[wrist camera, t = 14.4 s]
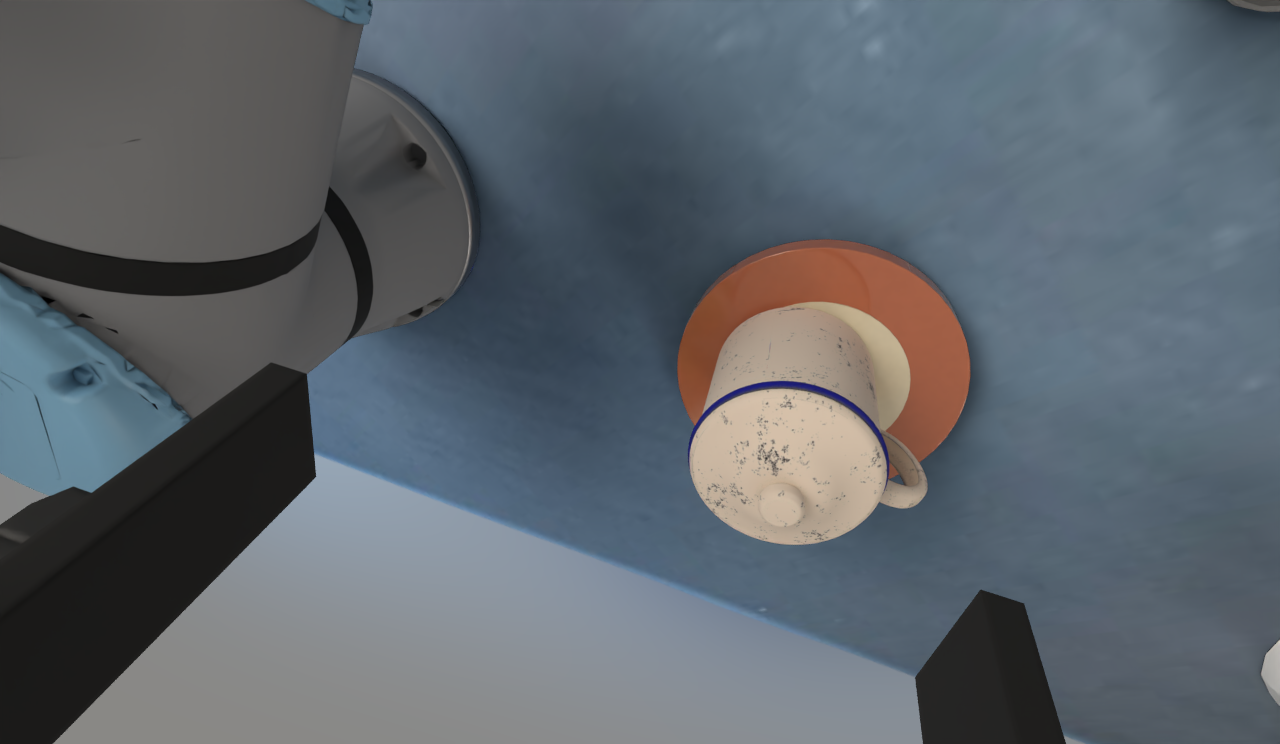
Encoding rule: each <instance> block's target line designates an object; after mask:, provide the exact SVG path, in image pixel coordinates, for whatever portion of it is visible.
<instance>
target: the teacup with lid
mask: <svg viewBox="0 0 1280 744" xmlns="http://www.w3.org/2000/svg"><path fill="white" fill-rule="evenodd" d="M889 462H890V463H891V465H892V466H893V467H894V468H895V469H896V471H897V472H898V473H899V475H900V477H901V478H902V480H903V483H904V485H905V486H904V485H901V484H898V483H895V482H893V481H891V480H888V477H889ZM688 463H689V469H690V472H691V476H692V480H693V483H694V485H695V488H696V490H697V491H698V493H699V495H700V497H701V498H702V500H703V501H704V503H705V504H706V505H707V506H708V507H709V509H710V510H711V511H712V512H713V513H714V514H715V515H716V516H717V517H719V518H720V519H721V520H722V521H723V522H725V523H726V524H728V525H729V526H731V527H732V528H734V529H736V530H738V531H740V532H742V533H744V534H746V535H748V536H751V537H753V538H756V539H759V540H763V541H767V542H772V543H777V544H787V545H804V544H813V543H818V542H823V541H827V540H830V539H833V538H836V537H838V536H841V535H843V534H845V533H847V532H849V531H850V530H852V529H854V528H855V527H856V526H858V525H859V524H860V523H861V522H863V521H864V520H865V519H866V518H867V517H868V516H869V515H870V514H871V513H872V512H873V510H874V509H875V508H876V506H877V505H878V503H879V502H881V503H883V504H885V505H888V506H891V507H895V508H910V507H913V506H915V505H917V504H918V503H919V502H920V501H921V500H922V499H923V497H924V496H925V495H926V492H927V487H928V485H927V479H926V476H925V473H924V471H923V469H922V467H921V465H920V463H919V462H918V460H917V459H916V458H915V456H914V455H913V454H912V453H911V451H910V450H909V449H908V448H907V447H906V446H905V445H904V444H903V443H902V442H900V441H899V440H898V439H897V438H895V437H894V436H892V435H891V434H889V433H887V432H886V431H884V430H882V429H880V424H879V414H878V405H877V395H876V386H875V376H874V368H873V362H872V359H871V356H870V353H869V351H868V349H867V347H866V345H865V343H864V342H863V340H862V339H861V338H860V337H859V335H858V334H857V333H856V332H855V331H854V330H853V329H852V328H851V327H849V326H848V325H847V324H846V323H844V322H843V321H841V320H840V319H838V318H836V317H834V316H832V315H830V314H827V313H825V312H822V311H819V310H815V309H810V308H804V307H783V308H776V309H772V310H768V311H765V312H762V313H759V314H757V315H755V316H753V317H751V318H749V319H747V320H746V321H745V322H743V323H742V324H740V325H739V326H738V327H737V328H736V329H735V330H734V331H733V332H732V333H731V334H730V336H729V337H728V338H727V340H726V341H725V343H724V345H723V346H722V349H721V351H720V353H719V356H718V360H717V363H716V367H715V371H714V374H713V378H712V381H711V385H710V388H709V392H708V396H707V399H706V403H705V406H704V410H703V414H702V416H701V417H700V419H699V420H698V422H697V423H696V425H695V427H694V429H693V431H692V434H691V437H690V442H689V447H688Z"/></svg>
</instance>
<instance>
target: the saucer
mask: <svg viewBox="0 0 1280 744" xmlns="http://www.w3.org/2000/svg"><path fill="white" fill-rule="evenodd" d="M783 307H804V308H810V309H815V310H819V311H822V312H825V313H827V314H830V315H832V316H834V317H836V318H838V319H840V320H841V321H843V322H844V323H846V324H847V325H848V326H849V327H851V328H852V329H853V330H854V331H855V332H856V333H857V334H858V335H859V337H860V338H861V339H862V340H863V342H864V343H865V345H866V347H867V349H868V351H869V353H870V356H871V359H872V362H873V368H874V376H875V386H876V395H877V405H878V414H879V424H880V429H882V430H884V431H886V432H887V433H889V434H891V435H892V436H894V437H895V438H897V439H898V440H899V441H900V442H902V443H903V444H904V445H905V446H906V447H907V448H908V449H909V450H910V451H911V453H912V454H913V455H914V456H915V458H916V459H917V460H918V462H921V461H922V460H923V459H925V458H926V457H927V456H928V455H929V454H931V453H932V452H933V451H934V450H935V449H936V448H937V447H938V446H939V445H940V444H941V443H942V442H943V440H944V439H945V438H946V437H947V436H948V434H949V433H950V431H951V430H952V428H953V427H954V425H955V424H956V422H957V420H958V418H959V416H960V414H961V412H962V410H963V408H964V404H965V401H966V398H967V395H968V390H969V383H970V376H971V375H970V356H969V351H968V346H967V341H966V338H965V336H964V333H963V330H962V327H961V325H960V322H959V320H958V317H957V315H956V313H955V311H954V309H953V308H952V306H951V304H950V302H949V301H948V299H947V298H946V297H945V295H944V294H943V293H942V292H941V290H940V289H939V288H938V287H937V286H936V285H935V284H934V283H933V282H932V281H931V280H930V279H929V278H928V277H927V276H926V275H925V274H924V273H922V272H921V271H920V270H918V269H917V268H915V267H914V266H912V265H911V264H909V263H908V262H906V261H905V260H903V259H901V258H899V257H897V256H895V255H893V254H891V253H889V252H886V251H883V250H880V249H878V248H875V247H872V246H869V245H865V244H860V243H855V242H850V241H842V240H830V239H821V240H804V241H797V242H791V243H786V244H782V245H779V246H775V247H772V248H768V249H766V250H763V251H761V252H759V253H756V254H754V255H752V256H749V257H748V258H746V259H744V260H743V261H741V262H739V263H737V264H736V265H734V266H733V267H731V268H730V269H729V270H728V271H726V272H725V273H724V274H722V275H721V276H720V277H719V278H718V279H717V280H716V281H715V282H714V283H713V284H712V285H711V286H710V287H709V288H708V289H707V290H706V292H705V293H704V294H703V296H702V297H701V298H700V300H699V301H698V302H697V304H696V306H695V308H694V310H693V312H692V314H691V315H690V317H689V320H688V323H687V325H686V328H685V331H684V333H683V336H682V339H681V343H680V348H679V353H678V364H677V374H678V383H679V389H680V393H681V397H682V401H683V403H684V406H685V408H686V410H687V413H688V415H689V417H690V419H691V420H692V422H693V424H694V425H696V423H697V422H698V420H699V419H700V417H701V416H702V414H703V410H704V406H705V403H706V399H707V396H708V392H709V388H710V385H711V381H712V378H713V374H714V371H715V367H716V363H717V360H718V356H719V353H720V351H721V349H722V346H723V345H724V343H725V341H726V340H727V338H728V337H729V336H730V334H731V333H732V332H733V331H734V330H735V329H736V328H737V327H738V326H739V325H740V324H742V323H743V322H745V321H746V320H747V319H749V318H751V317H753V316H755V315H757V314H759V313H762V312H765V311H768V310H772V309H776V308H783ZM897 475H899V473H898V472H897V471H896V469H895V468H894V467H893V466H892V465H891V463H890V462H889V477H888V479H890V478H893V477H895V476H897Z"/></svg>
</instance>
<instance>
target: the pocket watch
mask: <svg viewBox="0 0 1280 744" xmlns="http://www.w3.org/2000/svg"><path fill="white" fill-rule="evenodd" d="M1227 1H1229V2H1230V3H1231V4H1232V5H1234V6H1238V7H1243V8H1247V9H1252V10H1257V11H1264V12H1278V11H1280V0H1227Z"/></svg>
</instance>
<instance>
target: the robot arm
mask: <svg viewBox="0 0 1280 744" xmlns="http://www.w3.org/2000/svg"><path fill="white" fill-rule="evenodd" d="M372 8H373V4H372V2H371V0H0V473H1V474H3V475H5V476H6V477H8V478H10V479H12V480H14V481H16V482H18V483H21V484H23V485H25V486H27V487H29V488H31V489H33V490H36V491H38V492H41V493H44V494H47V495H49V497H46V498H44V499H41V500H39V501H37V502H34V503H32V504H30V505H28V506H27V507H26V508H24V509H23V510H21V511H20V512H18V513H17V514H15V515H14V516H12V517H11V518H10V519H8V520H7V521H5V522H4V523H2V524H1V525H0V744H53V743H54V742H55V741H56V740H57V739H58V738H59V737H60V735H62V734H63V733H64V732H65V731H66V730H67V729H68V728H69V727H70V726H71V725H72V724H73V723H74V721H76V720H77V719H78V718H79V716H81V714H83V713H84V711H85V710H86V709H87V708H88V707H89V706H90V705H91V704H92V703H93V702H94V701H95V700H96V699H97V698H98V697H99V696H100V695H101V694H102V693H103V692H104V691H105V690H106V689H107V688H108V687H109V686H110V685H111V684H112V683H113V682H114V681H115V680H116V679H117V678H118V677H119V676H120V675H121V674H122V673H123V672H124V671H125V670H126V669H127V668H128V667H129V666H130V665H131V664H132V663H133V662H134V661H135V660H136V659H137V658H138V657H139V656H140V655H141V654H142V653H143V652H144V651H145V650H146V648H148V646H149V645H151V644H152V643H153V642H154V641H155V640H156V639H157V637H159V635H160V634H161V633H162V632H163V631H164V630H165V629H166V628H167V627H168V626H169V625H170V624H171V623H172V622H173V621H174V620H175V619H176V618H177V617H178V616H179V615H180V614H181V613H182V612H183V611H184V610H185V609H186V608H187V607H188V606H189V605H190V604H191V603H192V602H193V601H194V600H195V599H196V598H197V597H198V596H199V595H200V594H201V593H202V592H203V591H204V590H205V589H206V588H207V587H208V586H209V585H210V584H211V583H212V582H213V581H214V580H215V579H216V578H217V577H218V576H219V575H220V574H221V573H222V572H223V570H225V568H227V567H228V566H229V565H230V564H231V562H232V561H233V560H234V559H235V558H236V557H237V556H238V555H239V554H240V553H241V552H242V551H243V550H244V549H245V548H246V547H247V546H248V545H249V544H250V543H251V542H252V541H253V540H254V539H255V538H256V537H257V536H258V535H259V534H260V533H261V532H262V531H263V530H264V529H265V528H266V527H267V526H268V525H269V524H270V523H271V522H272V521H273V520H274V519H275V518H276V517H277V516H278V515H279V514H280V513H281V512H282V511H283V510H284V509H285V508H286V507H287V506H288V505H289V504H290V503H291V502H292V501H293V500H294V499H295V498H296V497H297V496H298V495H299V494H300V493H301V491H303V489H305V488H306V487H307V485H308V484H309V483H310V482H311V481H312V480H313V479H314V478H315V477H316V472H315V459H314V448H313V437H312V426H311V415H310V404H309V393H308V382H307V374H308V373H309V372H310V371H312V370H313V369H314V368H315V367H317V366H318V365H319V364H320V363H321V362H323V361H324V360H325V359H326V358H328V357H329V356H330V355H331V354H332V353H334V352H335V351H336V350H337V349H338V348H340V347H341V346H342V345H343V344H345V343H346V342H347V341H348V340H350V339H351V338H354V337H358V336H362V335H365V334H369V333H373V332H377V331H381V330H385V329H388V328H391V327H396V326H400V325H403V324H407V323H410V322H413V321H416V320H418V319H420V318H422V317H424V316H426V315H428V314H429V313H431V312H433V311H434V310H436V309H437V308H439V307H440V306H441V305H442V304H443V303H445V302H446V301H447V300H448V299H449V298H450V297H451V296H452V295H453V294H455V293H456V292H457V291H458V289H459V288H460V287H461V286H462V285H463V283H464V282H465V280H466V279H467V277H468V275H469V273H470V271H471V269H472V267H473V265H474V262H475V259H476V255H477V251H478V247H479V239H480V216H479V208H478V201H477V197H476V193H475V189H474V185H473V183H472V180H471V177H470V174H469V172H468V169H467V167H466V165H465V163H464V160H463V159H462V157H461V155H460V153H459V151H458V149H457V148H456V146H455V144H454V143H453V141H452V140H451V138H450V137H449V135H448V134H447V133H446V131H445V130H444V129H443V127H442V126H441V125H440V124H439V122H438V121H437V120H436V119H435V118H434V117H433V116H432V115H431V114H430V113H429V112H428V111H427V110H426V109H425V108H424V107H423V106H422V105H421V104H420V103H419V102H418V101H416V100H415V99H414V98H413V97H411V96H410V95H409V94H408V93H406V92H405V91H403V90H402V89H400V88H399V87H397V86H396V85H394V84H392V83H390V82H389V81H387V80H385V79H383V78H381V77H378V76H376V75H374V74H371V73H368V72H365V71H362V70H359V69H355V68H354V64H355V60H356V56H357V51H358V47H359V43H360V38H361V34H362V30H363V25H366V24H369V21H370V18H371V13H372ZM915 679H916V688H917V696H918V704H919V713H920V722H921V730H922V739H923V744H1066V742H1065V739H1064V736H1063V732H1062V729H1061V726H1060V722H1059V719H1058V716H1057V712H1056V709H1055V706H1054V702H1053V699H1052V696H1051V692H1050V689H1049V686H1048V682H1047V679H1046V676H1045V672H1044V669H1043V666H1042V662H1041V659H1040V655H1039V652H1038V649H1037V645H1036V642H1035V639H1034V635H1033V632H1032V629H1031V625H1030V622H1029V619H1028V615H1027V612H1026V609H1025V605H1024V603H1021V602H1018V601H1014V600H1011V599H1008V598H1005V597H1002V596H999V595H996V594H993V593H990V592H986V591H983V590H980V591H979V592H978V594H977V595H976V597H975V598H974V599H973V601H972V602H971V603H970V605H969V606H968V607H967V609H966V610H965V611H964V613H963V614H962V615H961V617H960V618H959V619H958V621H957V622H956V623H955V625H954V626H953V627H952V629H951V630H950V631H949V633H948V634H947V635H946V637H945V638H944V639H943V641H942V642H941V643H940V645H939V646H938V647H937V649H936V650H935V651H934V653H933V654H932V656H931V657H930V658H929V660H928V661H927V662H926V664H925V665H924V666H923V668H922V669H921V670H920V672H919V673H918V674H917V676H916V677H915Z"/></svg>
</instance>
